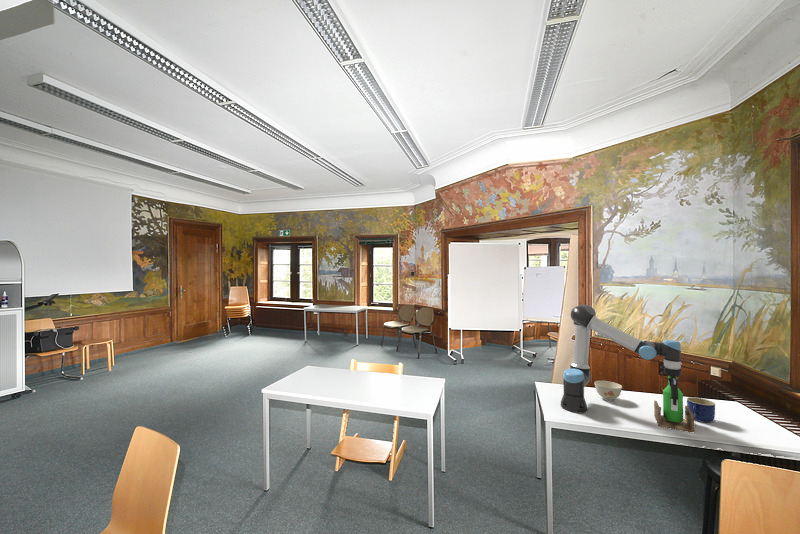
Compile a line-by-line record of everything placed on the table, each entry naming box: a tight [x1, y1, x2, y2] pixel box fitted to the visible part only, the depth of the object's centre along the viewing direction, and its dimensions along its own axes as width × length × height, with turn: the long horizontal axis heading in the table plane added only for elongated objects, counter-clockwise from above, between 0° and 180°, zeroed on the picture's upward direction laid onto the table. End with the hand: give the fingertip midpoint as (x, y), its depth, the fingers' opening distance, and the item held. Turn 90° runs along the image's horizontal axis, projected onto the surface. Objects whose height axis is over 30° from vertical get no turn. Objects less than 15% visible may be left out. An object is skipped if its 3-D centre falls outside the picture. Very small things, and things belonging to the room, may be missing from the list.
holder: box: [653, 400, 695, 433], centre depth 189 cm, size 15×16×9 cm
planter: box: [686, 396, 716, 424], centre depth 195 cm, size 12×12×11 cm
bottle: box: [662, 375, 684, 423], centre depth 189 cm, size 9×9×25 cm
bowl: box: [594, 380, 623, 402], centre depth 226 cm, size 16×16×10 cm
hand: (672, 407), depth 189 cm, fingers closed on bottle, 9 cm apart
